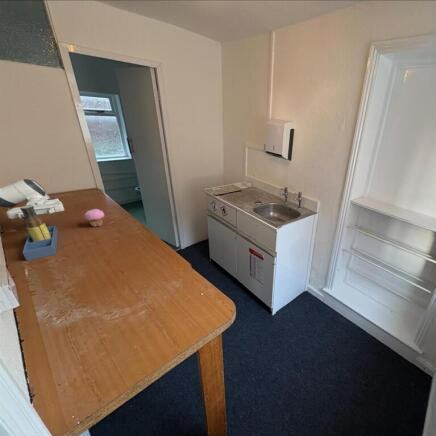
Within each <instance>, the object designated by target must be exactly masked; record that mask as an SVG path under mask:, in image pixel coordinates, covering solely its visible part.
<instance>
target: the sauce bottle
mask: <svg viewBox="0 0 436 436" xmlns="http://www.w3.org/2000/svg"><path fill="white" fill-rule="evenodd" d="M19 207H20V209H21V211H22V212H23V214H24V216H25V218H23V223H24V226H25V228H26V230H27V232H28V235H29V234H30V236H31V238H32V240H33V242H36V241H41V240H46V239H51V236H50V233H49V231H48V229H47V227H48V226H47V225H46V223H45V222H44V220H43V218H42V216H41V215H37V214H36V213H35V211H34V207H33V206H32V205H27V206H26V205H22V206H19Z"/></svg>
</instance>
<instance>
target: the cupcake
mask: <svg viewBox="0 0 436 436" xmlns="http://www.w3.org/2000/svg"><path fill="white" fill-rule="evenodd" d="M83 217H84V220H86V221H88V223H89V225H91V226H92V227H93V228H95V227H101V226H102V225H103V224H104V219H103V218H104V217H105V213H104V211H103V210H101V209H98V208H93V209H90V210H87V211H86V212H84V214H83Z"/></svg>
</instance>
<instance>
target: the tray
mask: <svg viewBox="0 0 436 436" xmlns="http://www.w3.org/2000/svg"><path fill="white" fill-rule="evenodd" d="M46 227H47V229H48V231H49V233H50V236H51V239H46V240H41V241H36V242H33V240H32V238H31V236H30V234H29V233H28V235H27V238H26V241H25V244H24V247H23V248H22V249H23V250H22V254H23V256H24V258H25V261H26V262H28V261H33V260H36V259H41V258H46V257H50V256H53V255H57V249H58V239H59V231H58V228H57V226H56V225H50V226H46Z"/></svg>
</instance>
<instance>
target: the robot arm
mask: <svg viewBox="0 0 436 436" xmlns="http://www.w3.org/2000/svg"><path fill="white" fill-rule="evenodd" d="M26 201H27V202H26ZM24 202H26V204H25V206H27V205H32V206H33V207H34V211H35V213H36V214H37V215H39V216H44V215H46V214H47V215H52V214H54V213H61V212H65V207H64V204H63V203H62V201H60V200H59V198H51V197H50V196H49V195H48V194H47V193H46V190H45V189H44V187H43V186H42V185H40V184H39V183H38V182H37V181H35V180H33V179H28V178H23V179H20V180H18V181H15V182H13V183H11V184H8V185H6V186H3V187H0V207H1V208H6V209H7V208H8V210H6V216H7V218H8V219H10V220H14V219H20V220H21V219H24V218H25V216H24V214H23V212H22V211H21V209H20V207H21V206H18V205H20V204H21V203H24ZM16 206H18V207H16Z"/></svg>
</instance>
